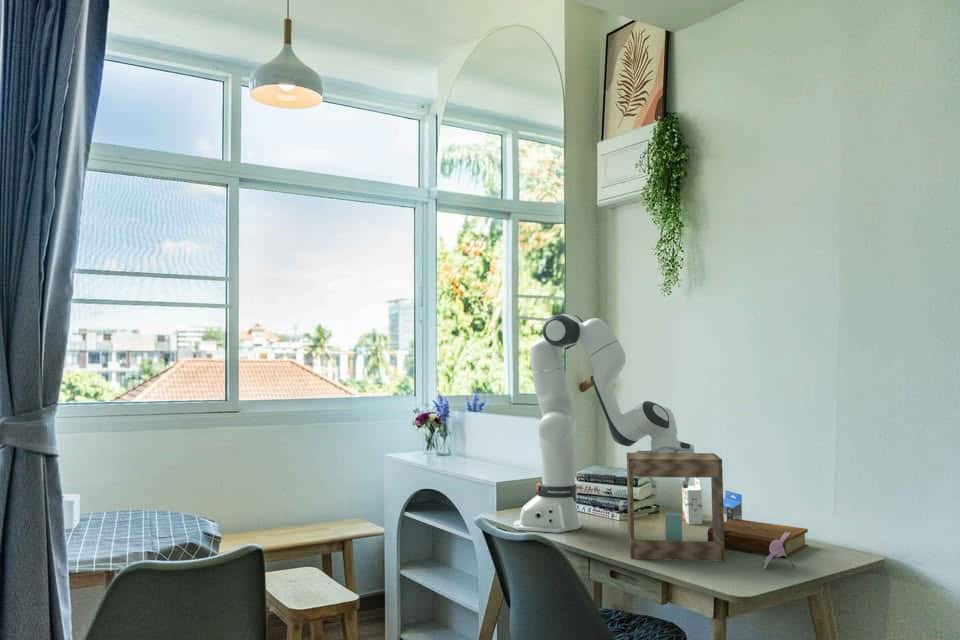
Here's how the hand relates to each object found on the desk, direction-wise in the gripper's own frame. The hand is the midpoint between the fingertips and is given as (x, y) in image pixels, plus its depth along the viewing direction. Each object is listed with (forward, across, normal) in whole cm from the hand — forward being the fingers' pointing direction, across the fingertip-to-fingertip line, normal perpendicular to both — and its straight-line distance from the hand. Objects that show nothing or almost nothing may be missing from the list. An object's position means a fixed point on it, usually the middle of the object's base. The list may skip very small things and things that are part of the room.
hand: (669, 487), depth 234 cm
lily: (+29, +26, -4) cm, 39 cm away
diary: (+13, +25, +12) cm, 31 cm away
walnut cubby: (+21, 0, +3) cm, 21 cm away
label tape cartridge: (-1, +20, +25) cm, 33 cm away
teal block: (+20, 0, +4) cm, 20 cm away
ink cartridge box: (-10, +10, +34) cm, 37 cm away
